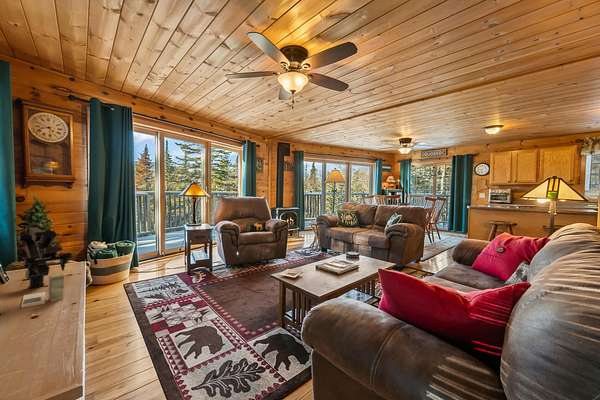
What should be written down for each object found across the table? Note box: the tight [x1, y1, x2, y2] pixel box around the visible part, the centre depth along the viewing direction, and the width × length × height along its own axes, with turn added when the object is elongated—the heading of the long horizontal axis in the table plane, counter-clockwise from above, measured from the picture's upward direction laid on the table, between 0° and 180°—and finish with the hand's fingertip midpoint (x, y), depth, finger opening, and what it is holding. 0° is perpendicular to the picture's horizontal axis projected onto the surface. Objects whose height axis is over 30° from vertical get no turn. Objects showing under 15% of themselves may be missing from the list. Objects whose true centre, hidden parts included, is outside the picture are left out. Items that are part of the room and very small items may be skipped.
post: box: [48, 273, 65, 303], centre depth 131 cm, size 4×4×12 cm
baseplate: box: [20, 291, 47, 309], centre depth 128 cm, size 16×8×1 cm, turn 45°
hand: (52, 272), depth 134 cm, fingers open, 9 cm apart
